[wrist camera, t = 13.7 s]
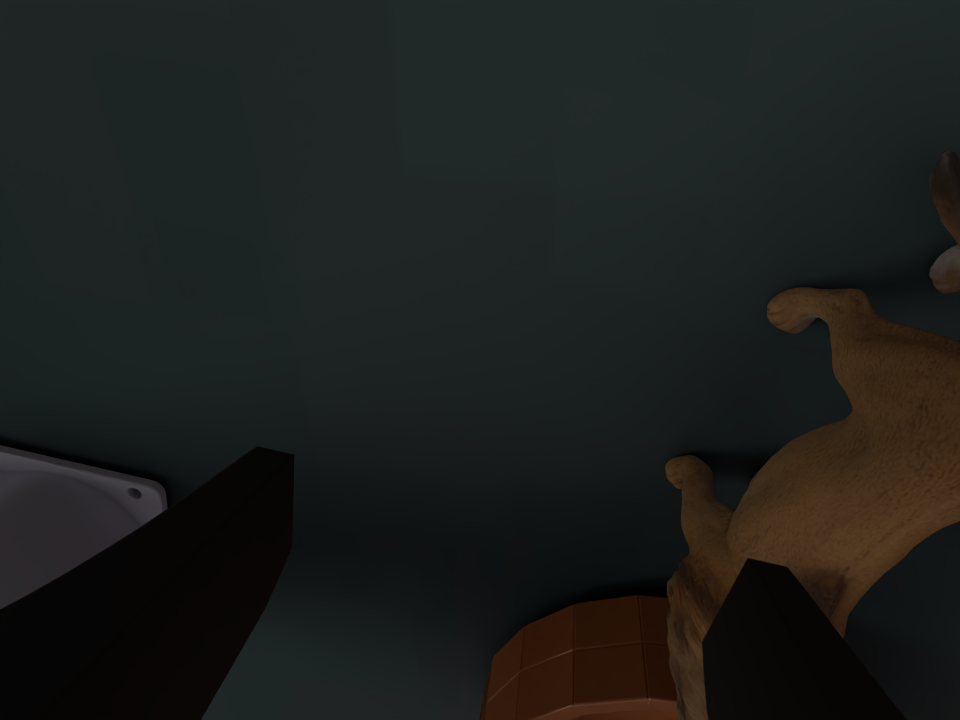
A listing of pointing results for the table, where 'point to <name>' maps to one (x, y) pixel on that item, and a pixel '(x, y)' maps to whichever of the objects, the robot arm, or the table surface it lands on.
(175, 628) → the robot arm
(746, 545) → the lion figurine
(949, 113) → the table surface
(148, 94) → the table surface
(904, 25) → the table surface
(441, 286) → the table surface
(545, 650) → the bowl
